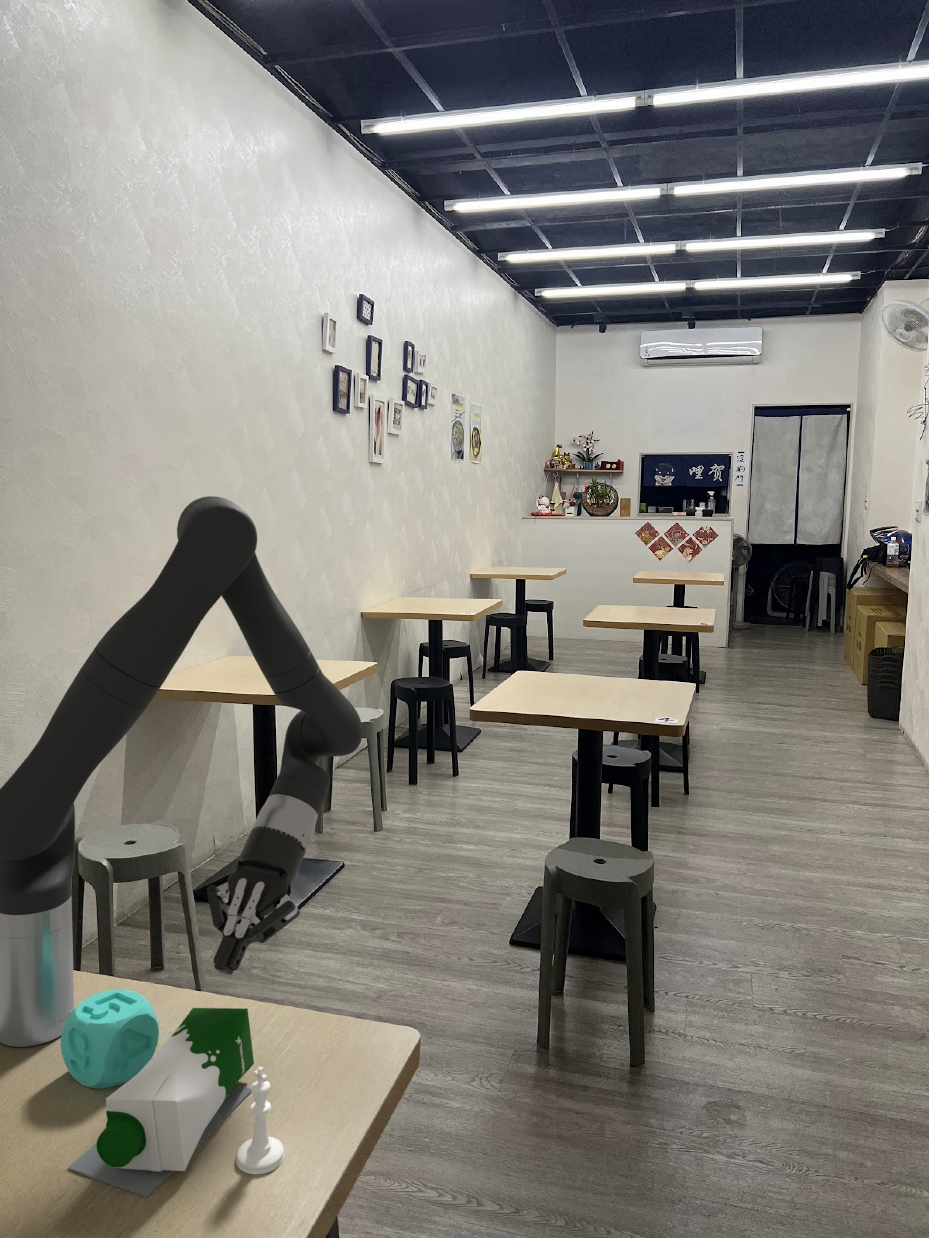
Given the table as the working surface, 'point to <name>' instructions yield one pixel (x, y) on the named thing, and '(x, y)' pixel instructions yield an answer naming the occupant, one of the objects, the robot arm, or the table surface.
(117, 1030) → the decorative dice
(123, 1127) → the soya milk
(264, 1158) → the chess piece
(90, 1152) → the mat
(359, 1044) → the table surface
